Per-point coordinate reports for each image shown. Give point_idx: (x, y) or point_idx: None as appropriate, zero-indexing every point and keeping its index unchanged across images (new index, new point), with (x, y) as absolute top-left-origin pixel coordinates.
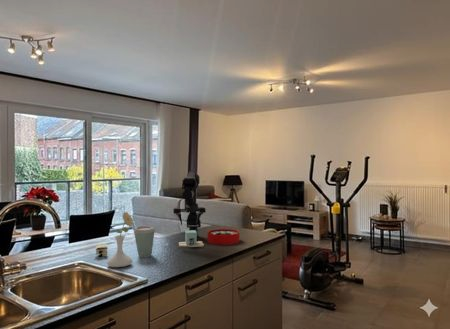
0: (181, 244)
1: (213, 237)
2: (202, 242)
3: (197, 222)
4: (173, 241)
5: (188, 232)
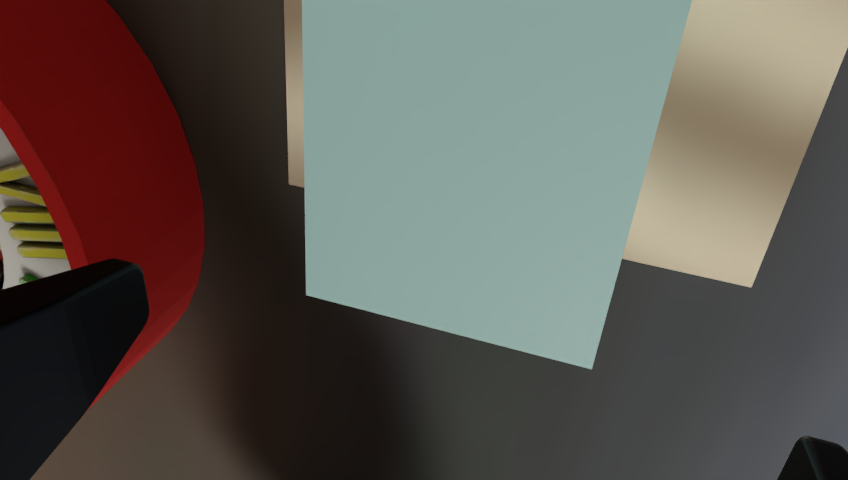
0: (786, 36)
1: (21, 38)
2: (286, 59)
3: (54, 288)
4: (761, 471)
5: (586, 38)
